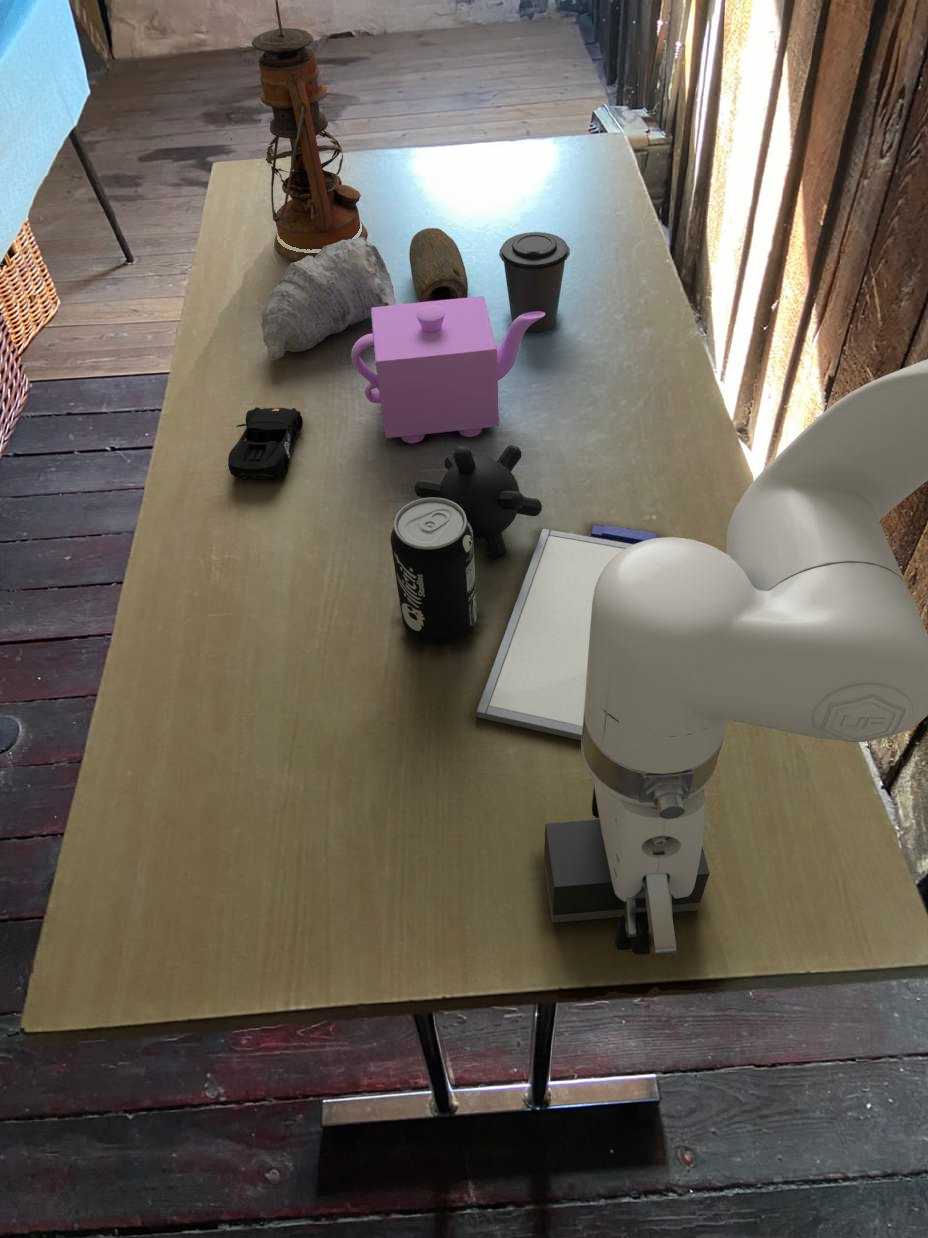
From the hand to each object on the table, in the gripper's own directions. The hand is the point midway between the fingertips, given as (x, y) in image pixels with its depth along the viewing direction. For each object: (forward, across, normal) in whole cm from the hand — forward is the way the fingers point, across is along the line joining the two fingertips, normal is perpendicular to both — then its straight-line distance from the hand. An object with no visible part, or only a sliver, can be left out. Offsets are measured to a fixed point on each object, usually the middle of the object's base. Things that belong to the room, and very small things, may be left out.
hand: (626, 875), depth 64 cm
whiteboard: (+2, +23, -2) cm, 23 cm away
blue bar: (+1, +35, -6) cm, 35 cm away
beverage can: (+2, +26, +12) cm, 28 cm away
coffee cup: (+2, +73, -2) cm, 73 cm away
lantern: (+2, +98, +24) cm, 101 cm away
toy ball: (+2, +37, +7) cm, 38 cm away
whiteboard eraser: (+2, 0, 0) cm, 2 cm away
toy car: (+2, +52, +28) cm, 59 cm away
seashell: (+2, +74, +22) cm, 77 cm away
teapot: (+2, +56, +9) cm, 56 cm away
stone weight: (+2, +80, +9) cm, 81 cm away
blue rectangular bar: (+1, +34, -7) cm, 35 cm away
